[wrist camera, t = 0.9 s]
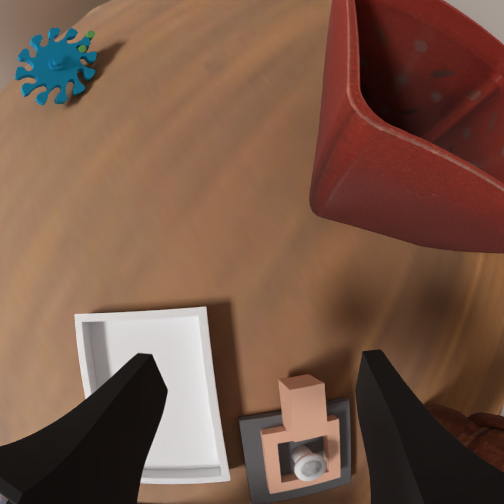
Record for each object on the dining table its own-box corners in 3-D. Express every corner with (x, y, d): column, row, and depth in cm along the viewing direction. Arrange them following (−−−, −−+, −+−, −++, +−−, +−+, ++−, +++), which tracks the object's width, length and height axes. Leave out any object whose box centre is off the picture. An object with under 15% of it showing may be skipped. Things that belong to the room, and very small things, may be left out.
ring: (335, 471, 20) (351, 489, 16) (267, 487, 19) (275, 508, 16) (330, 369, 22) (348, 377, 18) (254, 382, 21) (262, 394, 17)
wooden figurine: (415, 491, 21) (520, 554, 3) (370, 499, 20) (476, 588, 3) (449, 399, 23) (587, 424, 6) (407, 399, 23) (565, 441, 5)
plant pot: (262, 241, 24) (349, 109, 8) (294, 78, 29) (341, -49, 12) (442, 285, 26) (582, 251, 9) (436, 134, 30) (519, 58, 14)
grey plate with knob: (346, 478, 21) (364, 497, 17) (250, 499, 19) (257, 524, 15) (344, 396, 22) (366, 408, 18) (238, 416, 21) (243, 435, 17)
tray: (229, 469, 20) (230, 480, 18) (113, 470, 18) (107, 480, 16) (206, 307, 23) (206, 306, 21) (84, 314, 21) (74, 314, 19)
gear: (50, 120, 22) (-1, 60, 16) (42, 133, 26) (-3, 82, 20) (121, 60, 27) (77, 7, 20) (103, 77, 30) (63, 30, 24)
